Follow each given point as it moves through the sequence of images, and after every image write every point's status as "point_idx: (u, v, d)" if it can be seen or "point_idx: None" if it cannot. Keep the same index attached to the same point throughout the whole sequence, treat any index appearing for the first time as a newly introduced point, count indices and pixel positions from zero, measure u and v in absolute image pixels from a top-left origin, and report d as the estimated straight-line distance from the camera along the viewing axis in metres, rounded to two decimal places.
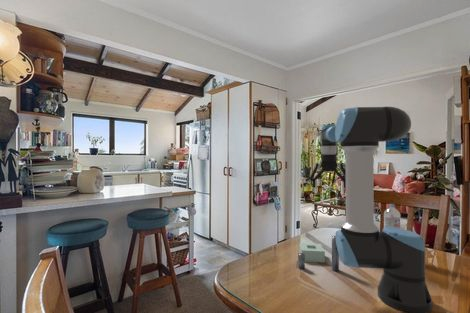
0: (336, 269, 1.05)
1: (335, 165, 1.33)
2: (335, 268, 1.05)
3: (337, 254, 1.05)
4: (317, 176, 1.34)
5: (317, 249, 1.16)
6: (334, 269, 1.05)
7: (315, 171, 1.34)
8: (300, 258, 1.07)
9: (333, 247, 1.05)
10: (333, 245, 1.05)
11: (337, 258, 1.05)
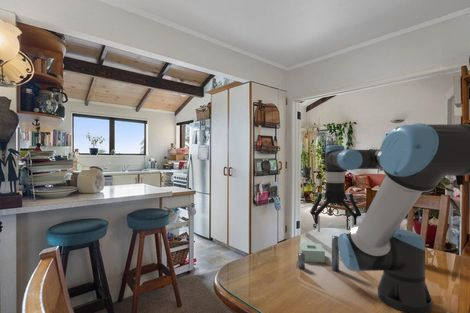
0: (336, 269, 1.05)
1: (343, 196, 1.05)
2: (335, 268, 1.05)
3: (337, 254, 1.05)
4: (320, 210, 1.06)
5: (317, 249, 1.16)
6: (334, 269, 1.05)
7: (318, 203, 1.06)
8: (300, 258, 1.07)
9: (333, 247, 1.05)
10: (333, 245, 1.05)
11: (337, 258, 1.05)
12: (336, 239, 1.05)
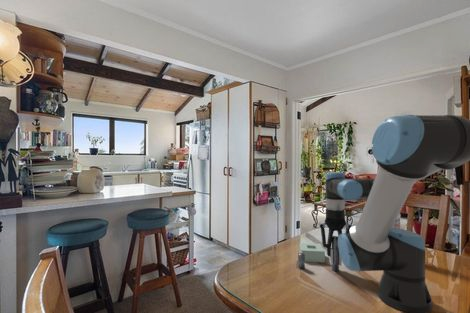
0: (336, 269, 1.05)
1: (343, 223, 1.05)
2: (335, 268, 1.05)
3: (337, 254, 1.05)
4: (330, 241, 1.05)
5: (317, 249, 1.16)
6: (334, 269, 1.05)
7: (324, 234, 1.06)
8: (300, 258, 1.07)
9: (333, 247, 1.05)
10: (333, 245, 1.05)
11: (337, 258, 1.05)
12: (336, 239, 1.05)
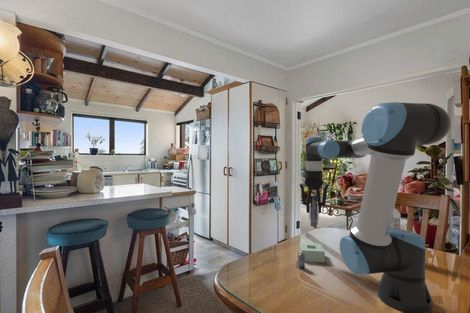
0: (314, 224, 1.17)
1: (320, 183, 1.16)
2: (313, 223, 1.17)
3: (315, 211, 1.17)
4: (308, 199, 1.17)
5: (317, 249, 1.16)
6: (312, 224, 1.17)
7: (303, 193, 1.18)
8: (300, 258, 1.07)
9: (312, 205, 1.17)
10: (311, 203, 1.17)
11: (315, 215, 1.17)
12: (314, 198, 1.17)
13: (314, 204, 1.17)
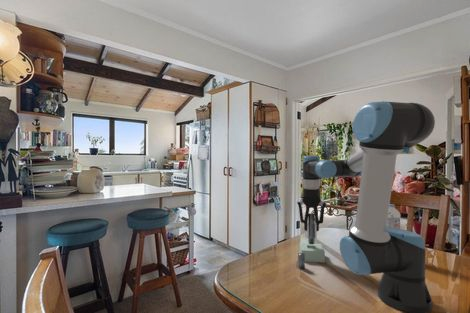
0: (312, 242, 1.18)
1: (318, 201, 1.18)
2: (311, 241, 1.18)
3: (313, 229, 1.18)
4: (306, 217, 1.18)
5: (317, 249, 1.16)
6: (310, 242, 1.18)
7: (301, 211, 1.19)
8: (300, 258, 1.07)
9: (309, 223, 1.18)
10: (309, 221, 1.19)
11: (313, 232, 1.18)
12: (312, 216, 1.18)
13: (312, 222, 1.18)
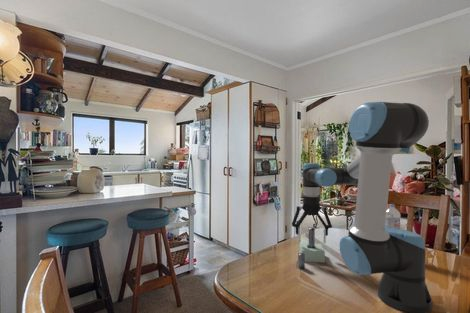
0: None
1: (318, 208, 1.18)
2: None
3: (313, 243, 1.18)
4: (300, 222, 1.19)
5: (317, 249, 1.16)
6: None
7: (297, 216, 1.19)
8: (300, 258, 1.07)
9: (310, 237, 1.18)
10: (309, 235, 1.19)
11: (313, 247, 1.18)
12: (312, 230, 1.18)
13: (312, 236, 1.18)
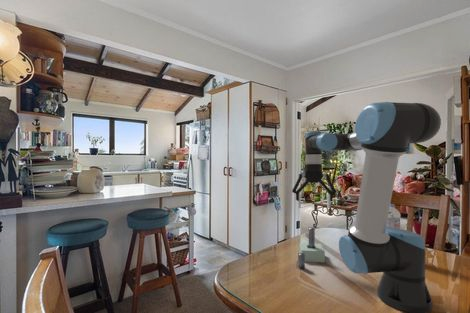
0: None
1: (320, 176, 1.19)
2: None
3: (313, 243, 1.18)
4: (301, 188, 1.20)
5: (317, 249, 1.16)
6: None
7: (298, 183, 1.20)
8: (300, 258, 1.07)
9: (310, 237, 1.18)
10: (309, 235, 1.19)
11: (313, 247, 1.18)
12: (312, 230, 1.18)
13: (312, 236, 1.18)
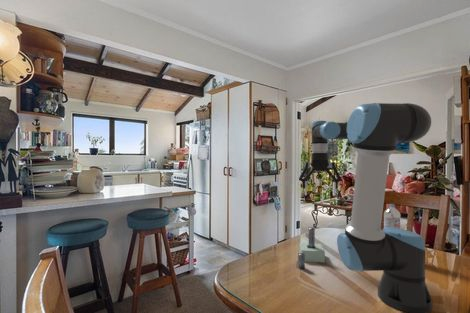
0: None
1: (326, 164, 1.23)
2: None
3: (313, 243, 1.18)
4: (307, 176, 1.24)
5: (317, 249, 1.16)
6: None
7: (305, 171, 1.24)
8: (300, 258, 1.07)
9: (310, 237, 1.18)
10: (309, 235, 1.19)
11: (313, 247, 1.18)
12: (312, 230, 1.18)
13: (312, 236, 1.18)
